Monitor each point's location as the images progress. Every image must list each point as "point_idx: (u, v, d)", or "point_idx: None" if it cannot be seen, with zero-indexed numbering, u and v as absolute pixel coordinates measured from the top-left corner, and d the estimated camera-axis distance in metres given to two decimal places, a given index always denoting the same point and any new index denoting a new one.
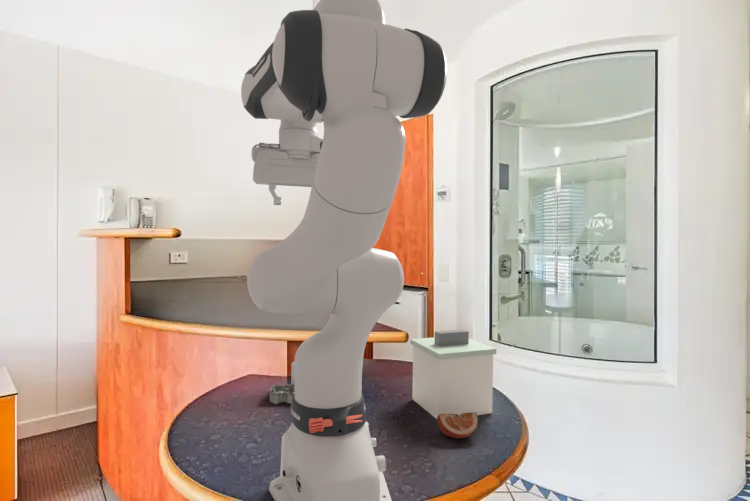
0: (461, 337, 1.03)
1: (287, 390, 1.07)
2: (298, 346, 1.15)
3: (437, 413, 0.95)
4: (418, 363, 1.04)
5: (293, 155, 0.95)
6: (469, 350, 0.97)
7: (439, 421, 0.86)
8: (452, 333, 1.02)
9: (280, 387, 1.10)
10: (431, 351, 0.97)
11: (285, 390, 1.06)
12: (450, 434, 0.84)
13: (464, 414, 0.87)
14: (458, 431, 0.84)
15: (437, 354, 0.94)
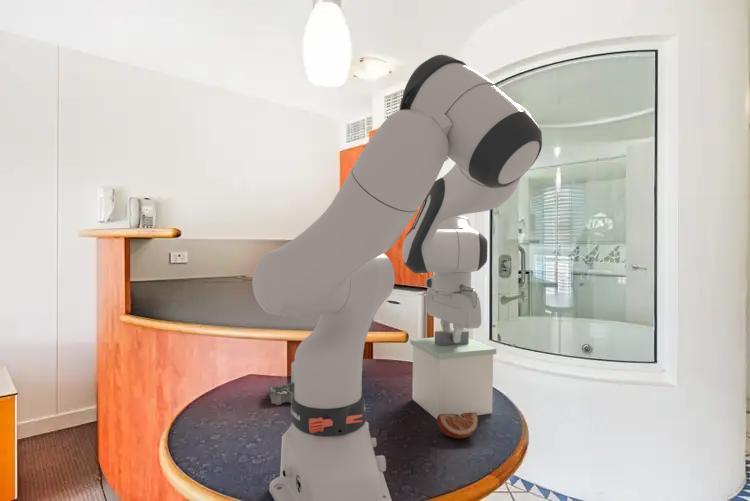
0: (461, 337, 1.03)
1: (288, 390, 1.07)
2: None
3: (437, 413, 0.95)
4: (418, 363, 1.04)
5: None
6: (469, 350, 0.97)
7: (439, 421, 0.86)
8: (452, 333, 1.02)
9: (277, 388, 1.10)
10: (431, 351, 0.97)
11: (286, 390, 1.06)
12: (450, 434, 0.84)
13: (464, 414, 0.87)
14: (458, 431, 0.84)
15: (437, 354, 0.94)
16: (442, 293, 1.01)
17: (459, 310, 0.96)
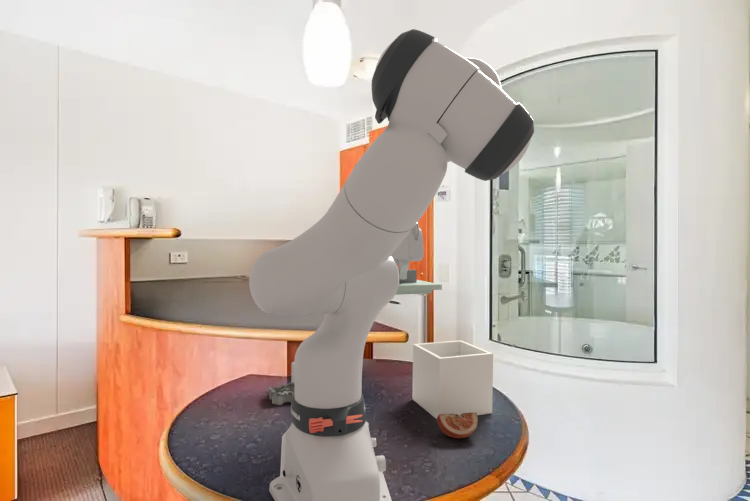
0: (408, 275, 1.02)
1: (288, 390, 1.07)
2: None
3: (437, 413, 0.95)
4: (418, 363, 1.04)
5: None
6: (413, 285, 0.97)
7: (439, 421, 0.86)
8: None
9: (276, 388, 1.09)
10: None
11: (286, 390, 1.06)
12: (450, 434, 0.84)
13: (464, 414, 0.87)
14: (458, 431, 0.84)
15: None
16: None
17: (403, 244, 0.96)
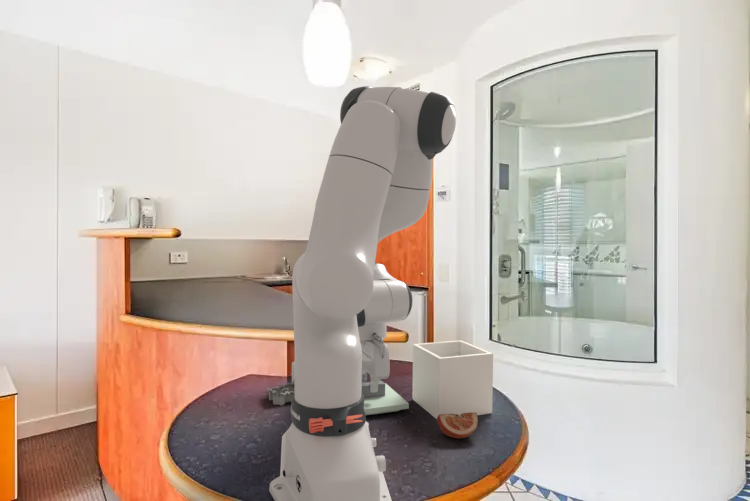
0: None
1: (288, 390, 1.07)
2: None
3: (437, 413, 0.95)
4: (418, 363, 1.04)
5: None
6: (380, 406, 0.97)
7: (439, 421, 0.86)
8: (367, 386, 1.02)
9: (274, 389, 1.09)
10: None
11: (287, 390, 1.06)
12: (450, 434, 0.84)
13: (464, 414, 0.87)
14: (458, 431, 0.84)
15: None
16: None
17: (370, 359, 0.97)
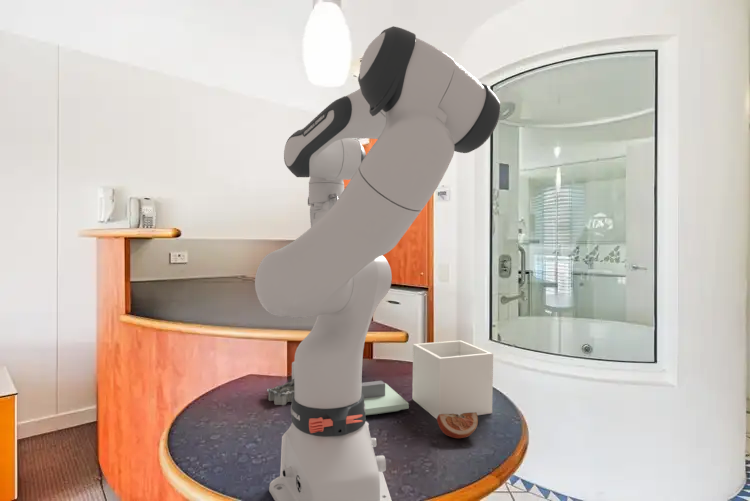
0: (377, 389, 1.03)
1: (288, 390, 1.07)
2: None
3: (437, 413, 0.95)
4: (418, 363, 1.04)
5: None
6: (380, 406, 0.97)
7: (439, 421, 0.86)
8: (367, 386, 1.02)
9: (273, 390, 1.08)
10: None
11: (287, 390, 1.06)
12: (450, 434, 0.84)
13: (464, 414, 0.87)
14: (458, 431, 0.84)
15: None
16: (315, 205, 1.04)
17: None
